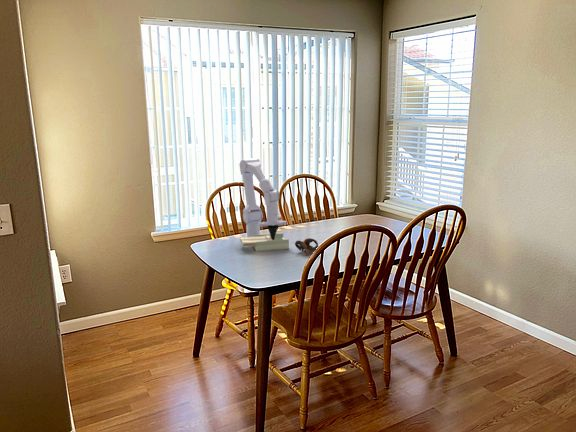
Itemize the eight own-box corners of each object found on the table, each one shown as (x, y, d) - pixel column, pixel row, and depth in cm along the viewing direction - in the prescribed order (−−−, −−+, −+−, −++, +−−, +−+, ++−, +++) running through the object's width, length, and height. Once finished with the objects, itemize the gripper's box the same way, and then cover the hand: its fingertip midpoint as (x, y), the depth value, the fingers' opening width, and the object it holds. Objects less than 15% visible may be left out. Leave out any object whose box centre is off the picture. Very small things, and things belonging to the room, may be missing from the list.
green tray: (251, 244, 259) (251, 235, 258) (283, 242, 263) (282, 232, 262) (256, 251, 247) (255, 242, 246) (288, 249, 251) (288, 239, 250)
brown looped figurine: (317, 250, 250) (321, 239, 245) (314, 263, 243) (317, 252, 238) (294, 244, 251) (297, 232, 245) (291, 256, 244) (294, 245, 238)
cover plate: (240, 240, 256) (240, 237, 255) (268, 238, 259) (268, 234, 259) (243, 246, 246) (243, 242, 245) (273, 243, 249) (273, 240, 249)
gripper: (259, 216, 246) (260, 242, 249) (287, 214, 249) (288, 240, 252) (257, 213, 252) (257, 238, 256) (284, 211, 256) (284, 236, 259)
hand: (272, 239), depth 254 cm, fingers closed
